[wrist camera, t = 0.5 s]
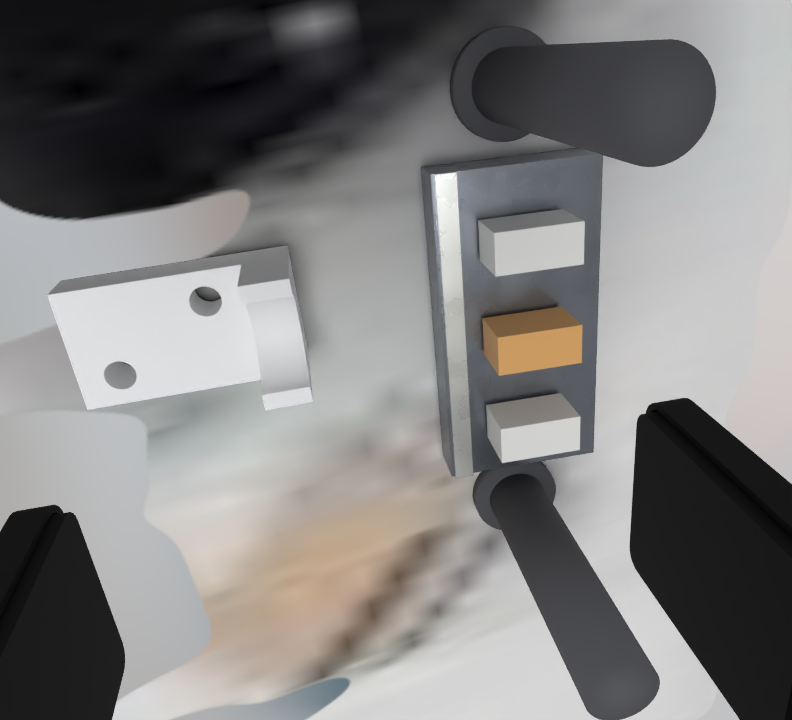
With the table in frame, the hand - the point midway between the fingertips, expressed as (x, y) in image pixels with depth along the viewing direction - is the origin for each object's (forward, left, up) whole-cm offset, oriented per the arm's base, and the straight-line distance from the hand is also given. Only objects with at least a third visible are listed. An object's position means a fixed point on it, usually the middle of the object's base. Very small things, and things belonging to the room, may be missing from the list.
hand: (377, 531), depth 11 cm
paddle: (+4, +12, -29) cm, 32 cm away
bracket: (+7, -8, -33) cm, 34 cm away
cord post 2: (+24, +12, -32) cm, 42 cm away
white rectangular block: (+16, +12, -29) cm, 35 cm away
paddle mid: (+10, +12, -29) cm, 33 cm away
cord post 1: (-4, +12, -32) cm, 35 cm away
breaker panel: (+10, +12, -32) cm, 36 cm away
